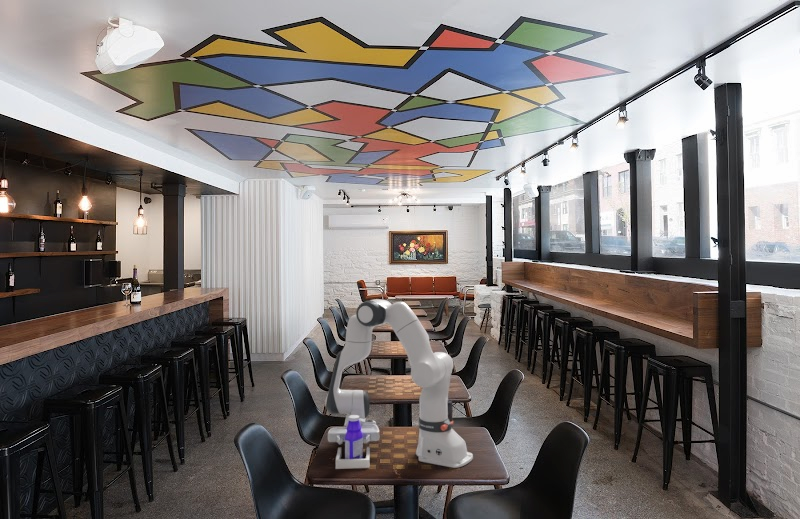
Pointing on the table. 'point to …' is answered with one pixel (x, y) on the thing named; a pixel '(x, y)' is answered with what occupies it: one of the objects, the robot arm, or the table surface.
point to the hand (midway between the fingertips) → (352, 441)
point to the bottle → (354, 439)
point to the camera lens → (450, 410)
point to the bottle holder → (352, 461)
